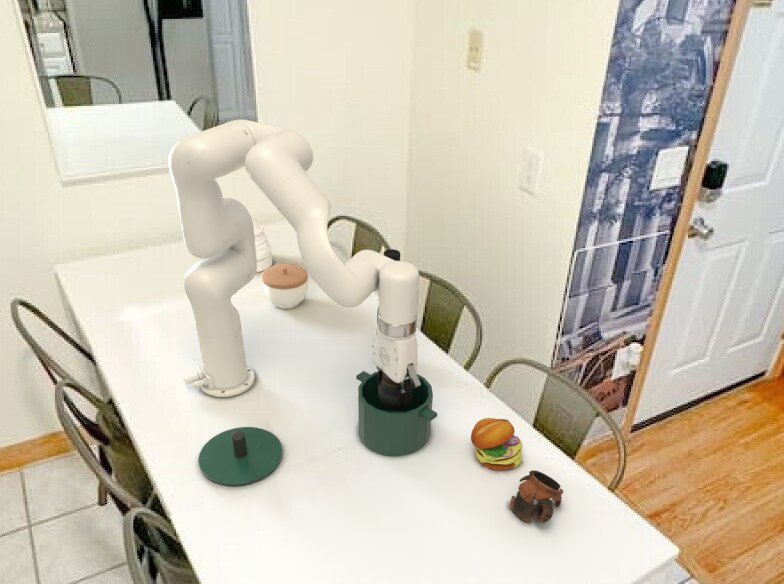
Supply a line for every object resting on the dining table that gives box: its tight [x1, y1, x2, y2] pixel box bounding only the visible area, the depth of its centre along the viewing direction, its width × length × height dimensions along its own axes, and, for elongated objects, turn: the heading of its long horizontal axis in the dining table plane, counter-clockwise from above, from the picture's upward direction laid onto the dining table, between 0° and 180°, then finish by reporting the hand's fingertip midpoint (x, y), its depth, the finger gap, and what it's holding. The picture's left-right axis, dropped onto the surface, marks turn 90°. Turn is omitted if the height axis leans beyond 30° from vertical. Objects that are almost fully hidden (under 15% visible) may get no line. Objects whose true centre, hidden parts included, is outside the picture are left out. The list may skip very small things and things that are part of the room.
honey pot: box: [249, 213, 273, 273], centre depth 198 cm, size 13×13×18 cm
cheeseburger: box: [470, 417, 523, 471], centre depth 135 cm, size 10×11×10 cm
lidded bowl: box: [261, 264, 309, 310], centre depth 181 cm, size 13×13×11 cm
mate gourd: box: [376, 367, 409, 408], centre depth 134 cm, size 7×8×10 cm
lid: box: [198, 426, 284, 486], centre depth 130 cm, size 17×17×6 cm
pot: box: [355, 370, 438, 457], centre depth 138 cm, size 16×21×12 cm
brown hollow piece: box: [509, 469, 564, 524], centre depth 123 cm, size 12×10×8 cm
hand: (394, 393), depth 135 cm, fingers closed on mate gourd, 7 cm apart
